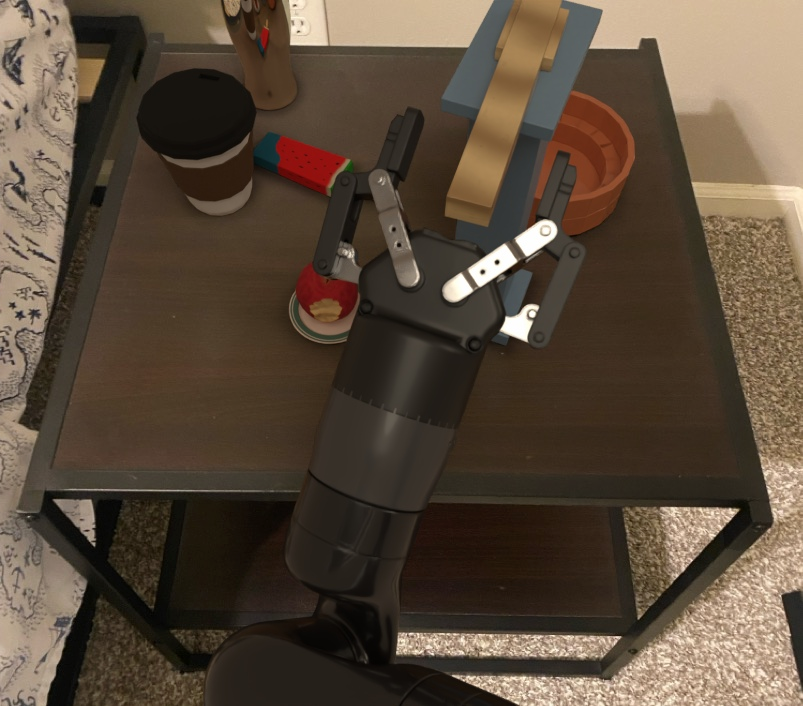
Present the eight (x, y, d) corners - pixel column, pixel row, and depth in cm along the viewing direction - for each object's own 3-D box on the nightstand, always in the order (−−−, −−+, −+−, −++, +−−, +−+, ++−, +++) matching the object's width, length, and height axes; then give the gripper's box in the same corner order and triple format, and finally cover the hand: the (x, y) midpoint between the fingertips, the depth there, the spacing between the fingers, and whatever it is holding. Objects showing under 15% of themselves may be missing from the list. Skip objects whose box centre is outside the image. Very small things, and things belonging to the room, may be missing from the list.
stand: (499, 363, 66) (562, 132, 41) (418, 335, 67) (432, 95, 43) (536, 266, 71) (610, 11, 47) (460, 242, 72) (495, -18, 48)
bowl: (616, 137, 80) (631, 94, 75) (620, 248, 72) (638, 208, 67) (476, 124, 81) (481, 80, 76) (465, 232, 73) (471, 192, 68)
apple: (389, 317, 68) (389, 277, 62) (320, 361, 65) (313, 324, 60) (341, 263, 71) (337, 220, 65) (273, 303, 69) (262, 262, 63)
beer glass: (310, 79, 84) (295, -45, 71) (287, 119, 81) (267, -4, 68) (255, 67, 85) (231, -58, 72) (231, 105, 82) (201, -18, 69)
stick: (498, 230, 38) (502, 210, 36) (433, 213, 38) (435, 193, 37) (566, 23, 46) (572, 0, 45) (512, 12, 47) (516, -11, 45)
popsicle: (372, 204, 73) (248, 155, 76) (372, 214, 74) (250, 165, 77) (392, 175, 75) (270, 128, 78) (392, 185, 76) (272, 138, 79)
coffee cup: (193, 147, 79) (162, 54, 68) (287, 167, 77) (270, 75, 67) (152, 222, 73) (111, 133, 63) (251, 244, 72) (227, 157, 62)
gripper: (514, 464, 35) (625, 147, 34) (254, 368, 37) (353, 71, 37) (516, 447, 42) (608, 186, 42) (299, 368, 45) (383, 121, 44)
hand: (488, 133), depth 39 cm, fingers open, 8 cm apart
